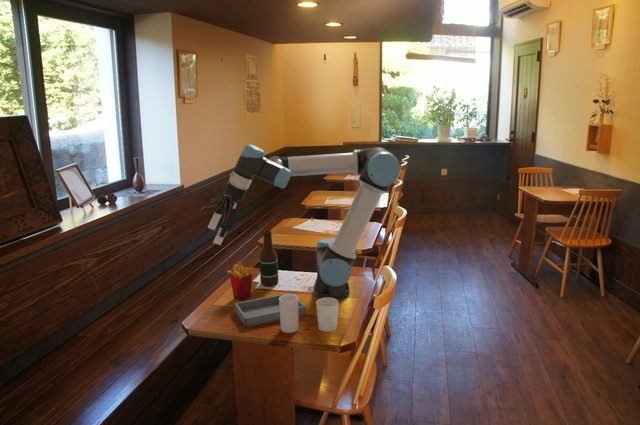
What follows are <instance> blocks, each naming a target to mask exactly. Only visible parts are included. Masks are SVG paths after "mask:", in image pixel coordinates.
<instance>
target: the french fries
mask: <svg viewBox="0 0 640 425" xmlns="http://www.w3.org/2000/svg"><path fill="white" fill-rule="evenodd" d="M232 267H233V271H232V270H227V273H228V274H231V275H230V276H229V278H230V279H229V280H230V284H231V290H232V295H233V299H234V300H238V301H239V302H244V301H247V300H248V299H250V298H251V297H252V285H253V284H252V282H253V274H252V273H250V270H252V269H253V266H250V267H247V266H246V267H245V268H244V265H243V263H242V262H241V261H237V264H236V263H235V264H233V265H232Z"/></svg>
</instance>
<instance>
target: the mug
mask: <svg viewBox="0 0 640 425" xmlns="http://www.w3.org/2000/svg"><path fill="white" fill-rule="evenodd" d="M285 294H286V295H282V296H280V297H279V306H280V330H281V332H283V333H285V334H286V333H287V334H291V333H292V334H293V333H296V332H297V331H298V330H299V317H298V299H299V296H298V295H297V294H294V293H293V294H287V293H285Z"/></svg>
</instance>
